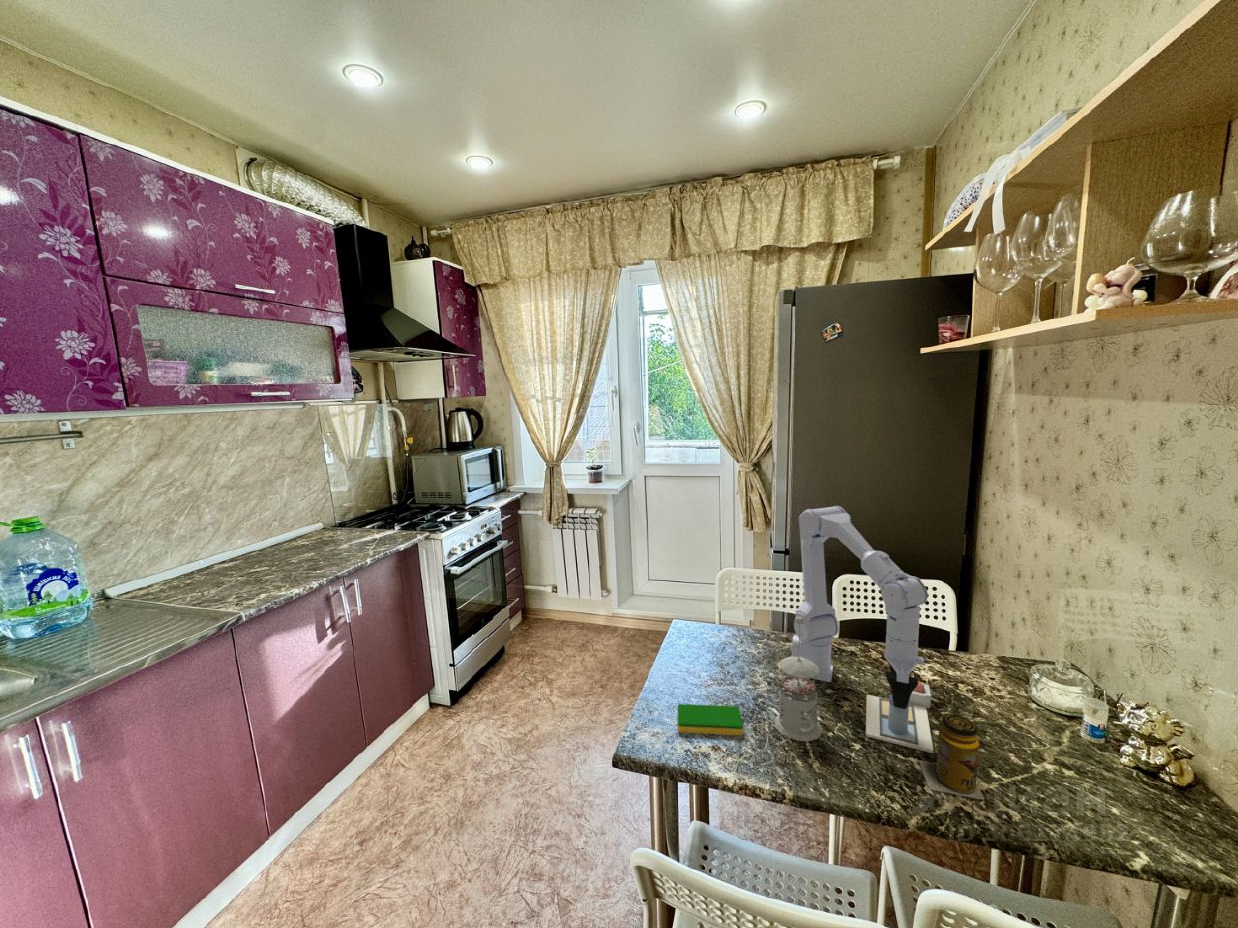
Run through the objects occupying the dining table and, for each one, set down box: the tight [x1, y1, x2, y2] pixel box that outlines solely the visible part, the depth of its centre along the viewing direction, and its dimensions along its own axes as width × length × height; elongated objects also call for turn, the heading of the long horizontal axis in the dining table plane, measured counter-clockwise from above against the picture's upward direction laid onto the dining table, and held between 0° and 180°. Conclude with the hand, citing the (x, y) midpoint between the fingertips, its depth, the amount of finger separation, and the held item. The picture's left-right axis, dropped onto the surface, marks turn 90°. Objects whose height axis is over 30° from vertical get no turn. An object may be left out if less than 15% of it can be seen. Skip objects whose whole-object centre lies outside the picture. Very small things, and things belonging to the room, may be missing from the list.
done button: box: [913, 680, 923, 693], centre depth 114 cm, size 3×3×3 cm
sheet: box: [865, 694, 935, 754], centre depth 106 cm, size 12×15×1 cm
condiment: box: [918, 713, 985, 800], centre depth 89 cm, size 7×8×12 cm
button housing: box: [909, 681, 932, 709], centre depth 114 cm, size 6×6×3 cm
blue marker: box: [888, 693, 910, 735], centre depth 102 cm, size 4×4×7 cm
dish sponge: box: [677, 703, 744, 736], centre depth 108 cm, size 7×14×2 cm, turn 83°
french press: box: [774, 616, 823, 742], centre depth 105 cm, size 10×12×25 cm
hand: (899, 696), depth 102 cm, fingers open, 7 cm apart
